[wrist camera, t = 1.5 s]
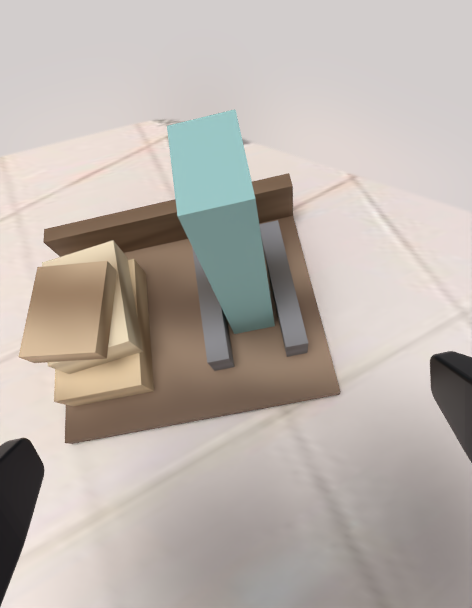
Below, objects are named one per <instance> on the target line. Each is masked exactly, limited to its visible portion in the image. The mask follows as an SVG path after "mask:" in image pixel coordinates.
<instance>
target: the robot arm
mask: <svg viewBox="0 0 472 608" xmlns="http://www.w3.org/2000/svg"><path fill="white" fill-rule="evenodd" d="M430 376H431V391H432V394H433V397H434V399H435V401H436V402H437V404H438V406H439V408H440V409H441V411H442V413H443V415H444V416H445V418H446V420H447V422H448V423H449V425H450V427H451V428H452V430H453V432H454V434H455V435H456V437H457V439H458V441H459V442H460V444H461V446H462V448H463V449H464V451H465V453H466V454H467V456H468V458H469V459H470V461H471V463H472V357H469V356H466V355H463V354H459V353H456V352H453V351H449V352H444V353H439V354H434V355H433V356H432V357H431V359H430ZM43 477H44V465H43V463H42V461H41V459H40V457H39V455H38V454H37V452H36V450H35V448H34V446H33V445H32V443H31V441H30V440H28V439H27V438H20V439H15V440H10V441H7V442H5V443H4V444H2V445H1V446H0V606H1V604H2V601H3V599H4V596H5V593H6V591H7V588H8V585H9V583H10V580H11V578H12V575H13V572H14V570H15V567H16V565H17V562H18V559H19V557H20V554H21V551H22V548H23V546H24V543H25V539H26V536H27V533H28V529H29V526H30V522H31V519H32V515H33V512H34V508H35V505H36V501H37V498H38V494H39V491H40V487H41V484H42V480H43Z"/></svg>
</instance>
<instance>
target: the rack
mask: <svg viewBox="0 0 472 608" xmlns="http://www.w3.org/2000/svg"><path fill="white" fill-rule="evenodd" d="M252 186H253V190H254V195H255V199H256V206H257V213H258V219H259V226H260V232H261V239H262V245H263V252H264V258H265V265H266V271H267V278H268V285H269V291H270V298H271V304H272V311H273V317H274V324H275V326H273V327H268V328H263V329H258V330H253V331H248V332H243V333H238V334H234V333H233V330H232V328H231V326H230V324H229V322H228V320H227V318H226V316H225V314H224V312H223V310H222V308H221V305H220V303H219V301H218V299H217V297H216V295H215V293H214V291H213V289H212V287H211V285H210V283H209V281H208V278H207V276H206V274H205V272H204V270H203V268H202V266H201V264H200V262H199V260H198V258H197V256H196V254H195V251H194V249H193V247H192V245H191V243H190V241H189V239H188V237H187V235H186V233H185V231H184V229H183V227H182V224H181V222H180V220H179V218H178V216H177V207H176V199H175V200H170V201H166V202H162V203H157V204H153V205H149V206H144V207H140V208H135V209H131V210H127V211H122V212H118V213H114V214H109V215H105V216H100V217H96V218H92V219H87V220H83V221H79V222H74V223H70V224H65V225H61V226H57V227H52V228H48V229H44V243H45V244H46V245H47V246H48V247H50V248H51V249H52V250H53V251H54V252H55V253H56V254H58V255H59V256H60V257H59V258H56V259H52V260H49V261H46V262H43V263H42V267H38V268H37V272H36V277H35V282H34V286H33V291H32V296H31V301H30V305H29V310H28V315H27V319H26V324H25V329H24V334H23V338H22V343H21V348H20V353H19V357H20V358H22V359H25V360H28V361H30V362H33V363H42V362H48V366H49V367H52V368H54V369H55V391H54V402H57V403H61V404H65V405H66V420H65V443H70V444H74V443H79V442H84V441H90V440H95V439H101V438H106V437H111V436H117V435H122V434H128V433H133V432H138V431H144V430H149V429H155V428H160V427H165V426H171V425H176V424H182V423H187V422H192V421H198V420H203V419H209V418H214V417H220V416H225V415H230V414H236V413H241V412H247V411H252V410H257V409H263V408H268V407H274V406H279V405H284V404H290V403H295V402H301V401H306V400H311V399H317V398H322V397H328V396H333V395H339V394H340V389H339V385H338V381H337V377H336V374H335V370H334V366H333V363H332V359H331V355H330V351H329V348H328V344H327V340H326V337H325V333H324V329H323V326H322V322H321V318H320V314H319V311H318V307H317V303H316V300H315V296H314V292H313V288H312V285H311V281H310V277H309V274H308V270H307V266H306V263H305V259H304V255H303V251H302V248H301V244H300V240H299V237H298V233H297V229H296V225H295V222H294V218H293V186H292V182H291V179H290V175H289V173H288V174H284V175H280V176H275V177H271V178H267V179H262V180H258V181H253V182H252Z"/></svg>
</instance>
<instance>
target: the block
mask: <svg viewBox="0 0 472 608" xmlns="http://www.w3.org/2000/svg"><path fill="white" fill-rule="evenodd" d="M167 130H168V138H169V147H170V156H171V164H172V173H173V182H174V190H175V199H176V207H177V216H178V218H179V220H180V222H181V224H182V227H183V229H184V231H185V233H186V235H187V237H188V239H189V241H190V243H191V245H192V247H193V249H194V251H195V254H196V256H197V258H198V260H199V262H200V264H201V266H202V268H203V270H204V272H205V274H206V276H207V278H208V281H209V283H210V285H211V287H212V289H213V291H214V293H215V295H216V297H217V299H218V301H219V303H220V305H221V308H222V310H223V312H224V314H225V316H226V318H227V320H228V322H229V324H230V326H231V328H232V330H233V333H234V334H238V333H243V332H248V331H253V330H258V329H263V328H268V327H273V326H275V324H274V317H273V311H272V304H271V298H270V291H269V285H268V278H267V271H266V265H265V258H264V252H263V245H262V239H261V232H260V226H259V219H258V213H257V206H256V199H255V195H254V190H253V186H252V181H251V177H250V173H249V168H248V164H247V159H246V155H245V150H244V146H243V141H242V137H241V133H240V128H239V124H238V119H237V115H236V111H235V110H231V111H227V112H223V113H218V114H214V115H210V116H206V117H202V118H198V119H194V120H190V121H186V122H181V123H177V124H173V125H169V126H167Z"/></svg>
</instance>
